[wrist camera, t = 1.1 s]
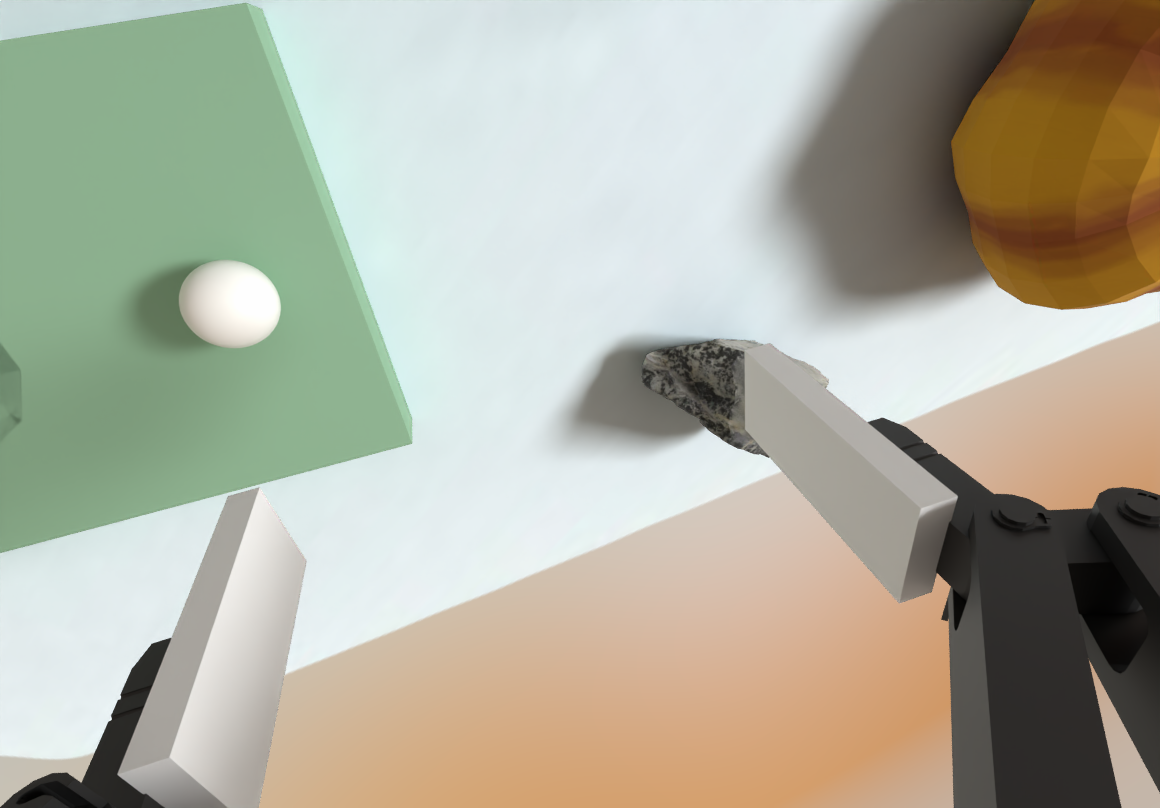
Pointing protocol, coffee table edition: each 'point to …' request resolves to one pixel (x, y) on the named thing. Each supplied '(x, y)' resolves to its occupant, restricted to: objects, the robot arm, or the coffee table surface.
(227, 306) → the ball
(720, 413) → the stone
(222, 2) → the coffee table surface
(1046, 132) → the decorative pumpkin
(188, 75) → the green
